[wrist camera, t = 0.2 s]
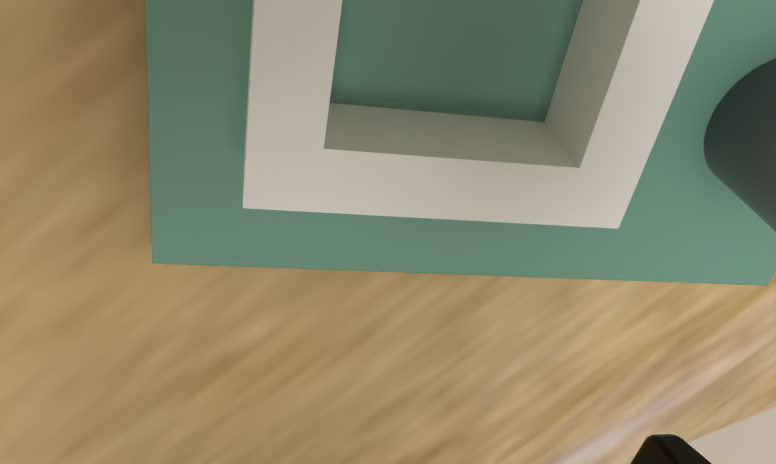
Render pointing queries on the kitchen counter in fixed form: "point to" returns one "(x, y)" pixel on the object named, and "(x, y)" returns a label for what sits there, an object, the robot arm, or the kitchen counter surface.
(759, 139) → the dome-topped cylinder
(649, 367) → the kitchen counter surface
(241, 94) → the board
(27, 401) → the kitchen counter surface
